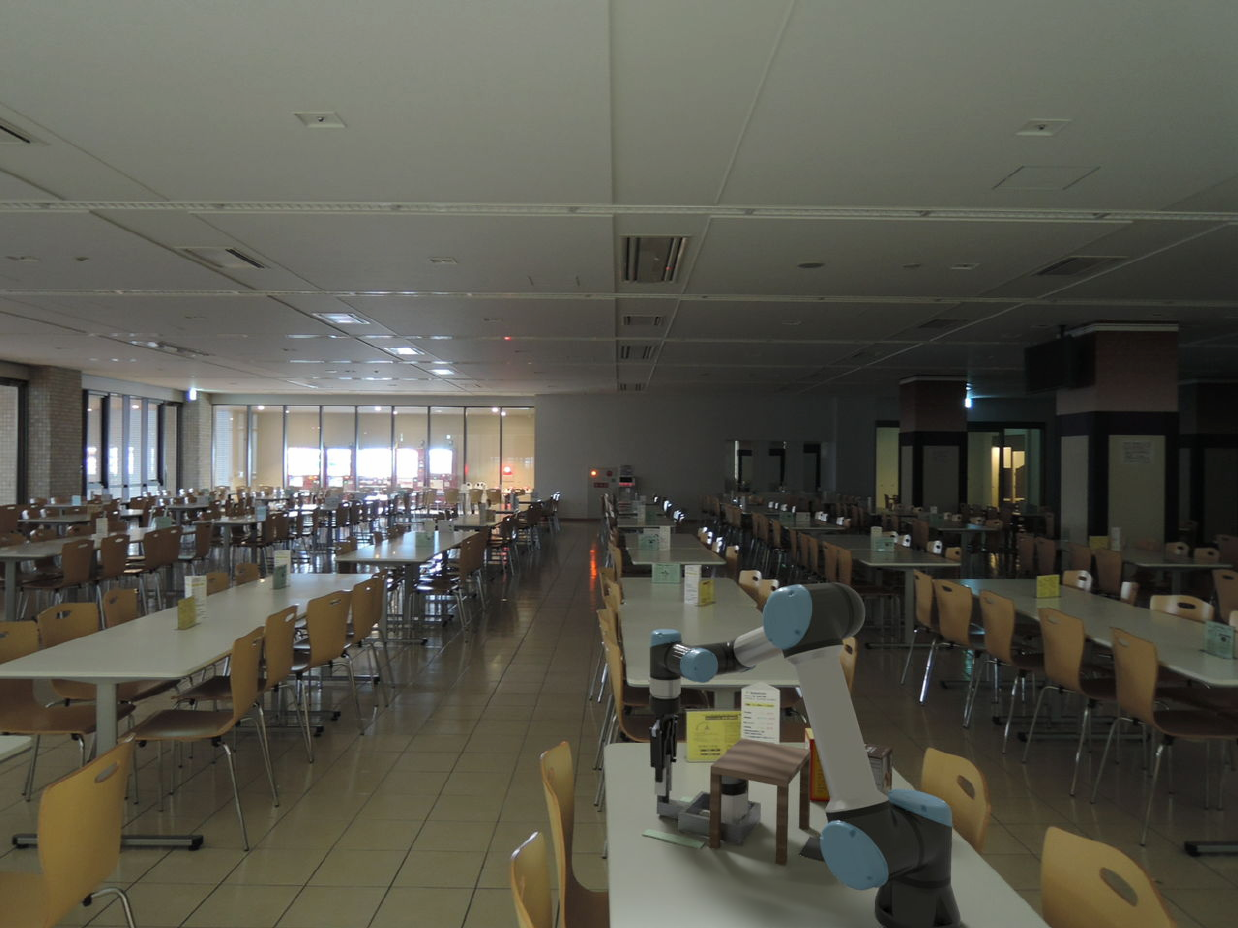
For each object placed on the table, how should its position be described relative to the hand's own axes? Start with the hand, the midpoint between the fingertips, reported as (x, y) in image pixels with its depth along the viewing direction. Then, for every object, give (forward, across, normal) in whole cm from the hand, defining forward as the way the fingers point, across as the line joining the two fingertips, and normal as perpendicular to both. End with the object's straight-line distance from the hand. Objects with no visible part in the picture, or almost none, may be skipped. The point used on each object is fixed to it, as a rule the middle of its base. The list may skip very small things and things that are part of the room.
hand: (663, 791), depth 199 cm
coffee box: (+6, -25, +45) cm, 52 cm away
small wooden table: (+6, 0, +24) cm, 25 cm away
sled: (+5, 0, +10) cm, 11 cm away
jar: (+6, 0, +16) cm, 18 cm away
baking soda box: (+6, -32, +30) cm, 44 cm away
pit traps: (+6, 0, +41) cm, 41 cm away
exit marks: (+6, 0, +7) cm, 9 cm away
